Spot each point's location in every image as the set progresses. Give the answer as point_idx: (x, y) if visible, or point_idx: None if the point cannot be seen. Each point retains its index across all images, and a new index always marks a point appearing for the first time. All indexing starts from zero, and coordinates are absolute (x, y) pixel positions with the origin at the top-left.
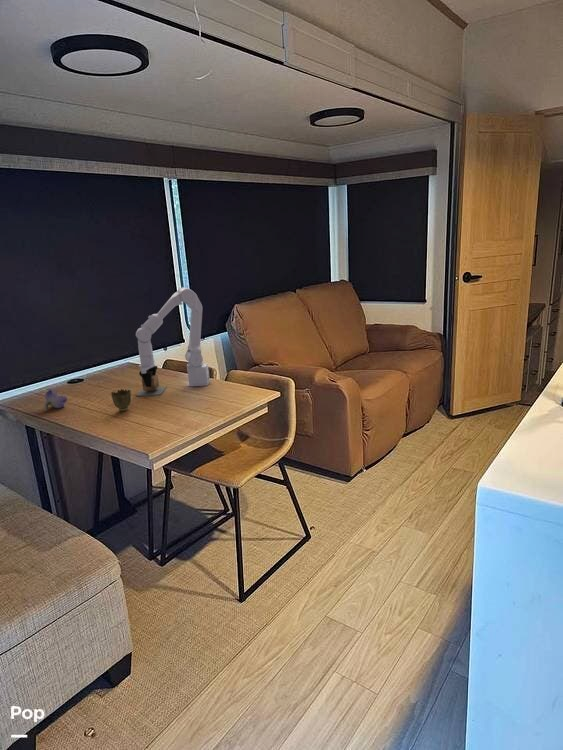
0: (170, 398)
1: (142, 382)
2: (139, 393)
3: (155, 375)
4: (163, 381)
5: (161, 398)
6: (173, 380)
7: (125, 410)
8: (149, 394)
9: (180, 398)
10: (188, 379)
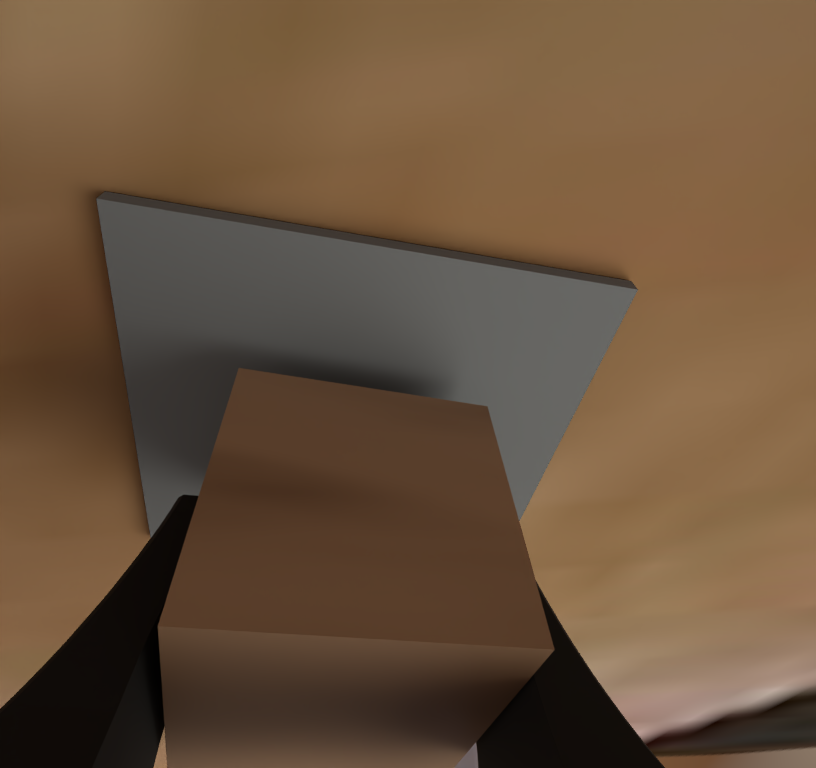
0: (18, 616)
1: (193, 525)
2: (241, 264)
3: (420, 763)
4: (805, 515)
5: (10, 552)
6: (745, 593)
7: None
8: (150, 433)
9: (26, 671)
10: (473, 755)
